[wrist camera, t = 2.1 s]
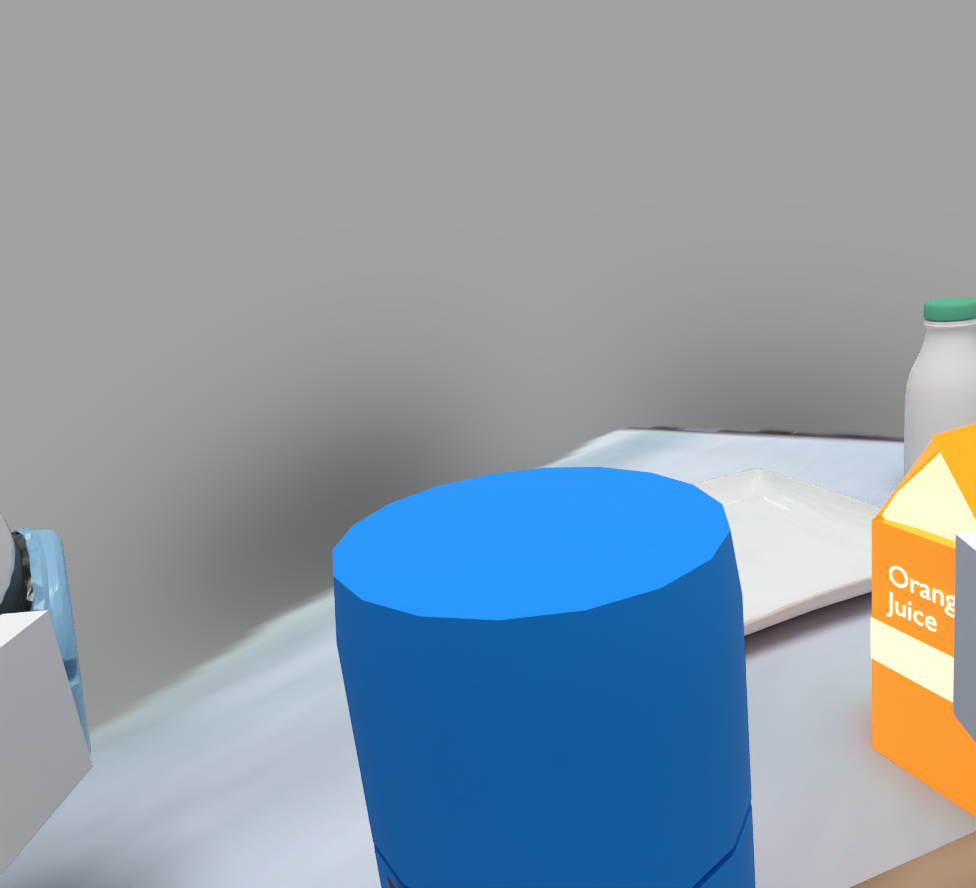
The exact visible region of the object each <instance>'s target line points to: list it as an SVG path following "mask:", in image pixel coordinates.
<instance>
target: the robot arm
mask: <svg viewBox="0 0 976 888" xmlns="http://www.w3.org/2000/svg"><path fill="white" fill-rule="evenodd" d="M953 715H954V716H955V717H956V719H957V720H958V721H959V722H960V724H961V725H962V726H963V728H964V729H965V730H966V732H967V733H968V734H969V735H970V737H971V738H972V739H973V741H974V742H975V743H976V532H972V533H960V534H955V603H954V674H953ZM90 757H91V746H90V738H89V731H88V724H87V718H86V710H85V703H84V696H83V688H82V682H81V675H80V667H79V659H78V652H77V645H76V637H75V629H74V622H73V615H72V607H71V600H70V592H69V585H68V578H67V570H66V563H65V556H64V549H63V542H62V540H61V538H60V537H59V534H57V533H56V532H53V531H51V530H48V529H42V530H31V529H29V528H23V529H17V530H15V531H14V532H12V533H11V531H10V529H9V526H8V524H7V523H6V521H5V519H4V518H3V516H2V514H1V513H0V876H1V875H2V873H3V872H4V871H5V870H6V869H7V868H8V866H9V865H10V864H11V863H12V862H13V860H14V859H15V858H16V857H17V856H18V854H19V853H20V852H21V851H22V850H23V849H24V847H25V846H26V845H27V844H28V843H29V841H30V840H31V839H32V838H33V837H34V835H35V834H36V833H37V832H38V831H39V830H40V828H41V827H42V826H43V825H44V824H45V822H46V821H47V820H48V819H49V818H50V817H51V815H52V814H53V813H54V812H55V811H56V809H57V808H58V807H59V806H60V805H61V803H62V802H63V801H64V800H65V799H66V798H67V796H68V795H69V794H70V793H71V792H72V790H73V789H74V788H75V787H76V786H77V784H78V783H79V782H80V781H81V780H82V779H83V777H84V776H85V775H86V774H87V773H88V771H89V770H90V769H91V768H92V767H93V765H92V761H91V758H90Z"/></svg>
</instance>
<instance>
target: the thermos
mask: <svg viewBox="0 0 976 888" xmlns="http://www.w3.org/2000/svg"><path fill="white" fill-rule="evenodd" d="M333 574H334V596H335V617H336V638H337V647H338V652H339V658H340V663H341V669H342V674H343V679H344V685H345V690H346V696H347V701H348V707H349V712H350V718H351V723H352V729H353V734H354V740H355V745H356V750H357V756H358V761H359V767H360V772H361V778H362V783H363V789H364V794H365V800H366V805H367V810H368V816H369V821H370V827H371V832H372V838H373V842H374V847H375V854H376V860H377V865H378V871H379V876H380V881H381V887H382V888H755V869H754V846H753V823H752V806H751V777H750V754H749V731H748V708H747V686H746V663H745V640H744V617H743V595H742V590H741V584H740V579H739V573H738V568H737V562H736V557H735V551H734V546H733V540H732V535H731V530H730V526H729V523H728V520H727V517H726V513H725V510H724V507H723V504H721V503H720V502H718V501H717V500H715V499H714V498H712V497H711V496H709V495H708V494H706V493H705V492H704V491H702V490H701V489H699V488H698V487H696V486H695V485H692V484H688V483H685V482H682V481H678V480H675V479H671V478H668V477H664V476H661V475H657V474H654V473H649V472H640V471H631V470H622V469H613V468H603V467H571V468H539V469H531V470H523V471H514V472H506V473H497V474H489V475H485V476H481V477H476V478H472V479H468V480H463V481H459V482H454V483H450V484H445V485H441V486H437V487H434V488H431V489H428V490H426V491H423V492H420V493H418V494H415V495H412V496H410V497H407V498H404V499H401V500H398V501H396V502H393V503H390V504H389V505H387V506H385V507H383V508H382V509H380V510H378V511H377V512H375V513H373V514H372V515H370V516H368V517H367V518H365V519H363V520H361V521H360V522H358V523H356V524H355V525H353V526H352V528H351V529H350V530H349V531H348V532H347V534H346V535H345V536H344V537H343V538H342V539H341V541H340V542H339V543H338V544H337V546H336V547H335V548H334V549H333Z"/></svg>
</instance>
